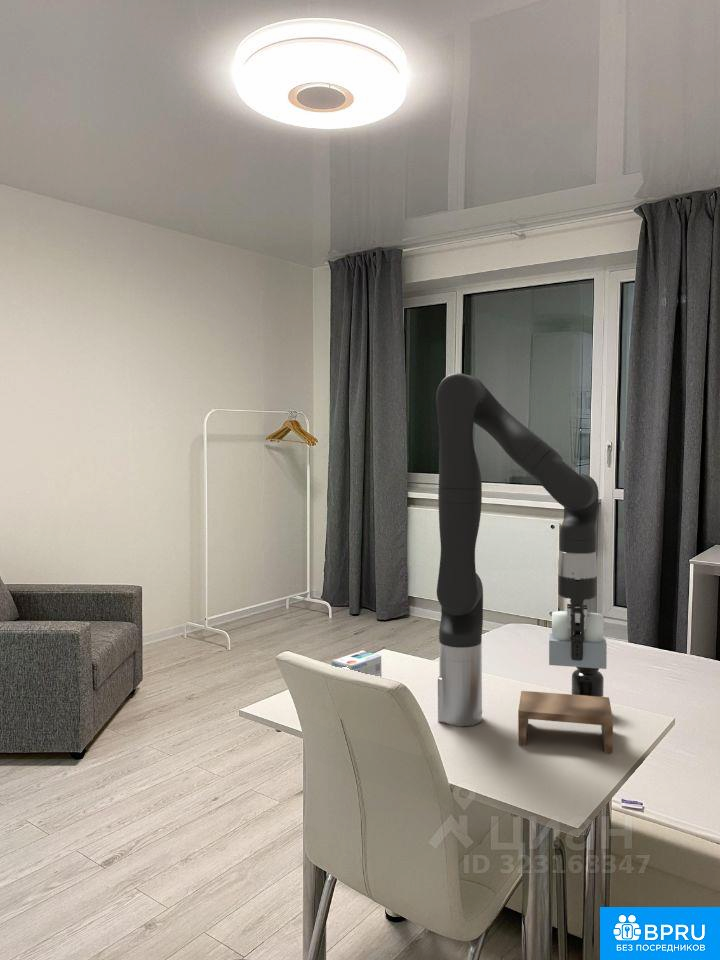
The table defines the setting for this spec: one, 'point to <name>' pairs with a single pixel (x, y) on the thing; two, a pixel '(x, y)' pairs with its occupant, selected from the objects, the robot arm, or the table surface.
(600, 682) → the supplement bottle
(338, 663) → the light bulb box
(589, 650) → the salt and pepper set
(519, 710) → the walnut shelf
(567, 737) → the table surface
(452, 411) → the robot arm
